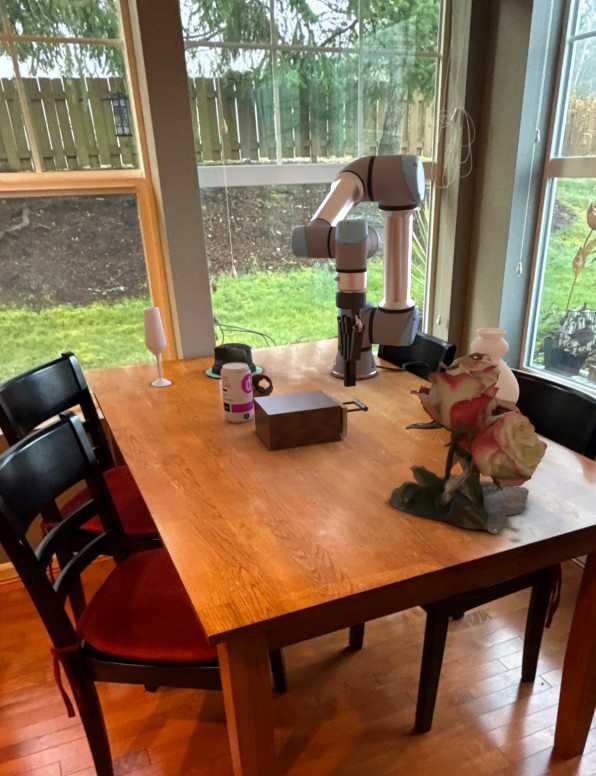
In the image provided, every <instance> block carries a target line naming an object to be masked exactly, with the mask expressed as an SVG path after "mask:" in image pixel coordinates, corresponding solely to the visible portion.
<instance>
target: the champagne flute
mask: <svg viewBox="0 0 596 776" xmlns="http://www.w3.org/2000/svg"><path fill="white" fill-rule="evenodd" d="M143 328H144V345H145V347H146V349H147V350H148V351H150V352H151V354H154V355H155V359H156V360H155V361H156V367H157V374H158V378H157V379H156V380H155V381H153V382H151V384H150V385H151V386H152V387H168V386H170V385H172V381H170V380H169V379H166V378H164V377H163V372H162V371H163V370H162V365H161V357H160V355H161V354H162V353H163V351H164V350H165V349H166V347H167V338H166V334H165V330H164V326H163V321H162V317H161V312H160V307H156V306H148V307H144V308H143Z"/></svg>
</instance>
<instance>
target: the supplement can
mask: <svg viewBox="0 0 596 776" xmlns="http://www.w3.org/2000/svg"><path fill="white" fill-rule="evenodd" d="M220 381H221V391H222V402H223V413H224V419H226V421H227V422H230V423H234V424H235V423H236V424H238V423H247V422H249V421H251V420H252V419H253V418H254V417H255V415H254V401H253V395H254V394H253V393H252V380H251V370H250V369H249V367H248V364H246V363H228V364H225V365H223V366H222V370H221V378H220Z"/></svg>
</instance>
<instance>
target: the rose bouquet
mask: <svg viewBox="0 0 596 776" xmlns="http://www.w3.org/2000/svg"><path fill="white" fill-rule="evenodd" d="M475 357H477V358H475ZM438 365H439V367H440V368H441V369H442V368H443V369H445V371H444V372H442V371H435V372H430V373H429V374H428V376H427V377H428V378H427V379H428V381H430V383H431V385H430V386H429V387H427V386H424V385H420V386H419V390H418V391H417V390H416V389H413V390H412V389H410V391H409V393H410V394H409V395H415V396H417V398H418V399H419V400H420V404H421V405H422V409H423V411H424V412H425V413H426V414H427V415H428V416H429V418H430V419H431V420H432V421H429V422H415V423H412V424H409V425H407V426H406V427H404V429H405V430H412V429H413V430H425V431H426V430H427V431H429V430H438V429H445V431H447V432H450V435H449V439H450V440H449V441H450V442H447V443H444V448H448V451H447V455H446V459H445V468H444V476H443V477H439V476H437V475H438V474H437V473H436V472H433V471H431V470H429V469H427V468H426V467H425V466H423V465H418V464H413V465H411V466H410V467H409V469H410V470H411V472H412V478H413V479H414V480H415V482H413V481H411V480H407V481H404V482H403V483H402V484H401V485H400V486H399V487H395V488H394V489H392V490H391V495H390V498H389V500H388V503H389V504H390V505H392V507H393V508H395V509H398V510H399V511H403V512H405V513H409V514H411V515H414V516H417V517H422V518H426V519H431V520H434V521H444V522H447V523H450V524H453V525H455V526H458V527H461V528H465V529H469V530H475V531H477V530H485V531H487V532H488V533H491V534H494V535H495V534H498V533H500V530H501V529H502V528H504V527H505V528H508V529H511V530H515V531H516V529H514V528H512V527H510V526H509V523H508V521H507V516H511V515H517V514H521V513H522V512H523V510H524V508H526V505H527V502H528V496H529V493H530V490H529V489H528V488H526V487H524V486H523V485H524V484H525V482H528V481H529V480H531V479H532V476H533V475H534V473H535V472H536V470H537V468H538V466H539V464H540V463H541V462H542V459H543V458H544V457H545V454H546V450H547V449H548V444H547V443H546V442H545V441H542V440H541V439H539V436H538V435H539V434H538V433H536V432H535V430H536V428H535V426H534V425H533V424H532V423H531V422H530V420H529V417H527V416H526V415H523V413H522V412H521V411H520V409H519V407H518V406H516V404H515V402H512V401H508V400H504V399H500V398H498V397H497V396H496V394H497V391H498V390H499V388H498V387H494V386H495V385H496V383H497V381H498V376H499V374H500V369H499V368H496V367H498V366H499V365H498V364H495V363H493V361H492V360H491V356H489V355H488V354H484V353H483V354H482V353H480V352H475V353H473V352H472V353H470V354H467V355H465V356H460V357H458V358H456V359H454V360H453V361H452V363H451V364H450V365H446V364H444V361H441V362H438ZM458 463H459V465H460V467H461V469H462V472H461V474H460V475H459V476H453V475H452V473H451V472H452V469H453V468H454V467H455V466H456V465H457V464H458ZM481 476H483V477H487V478H488V477H490V478H491V480H492V482H489V481H481ZM484 480H485V479H484ZM521 486H523V487H521Z"/></svg>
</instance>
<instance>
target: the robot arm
mask: <svg viewBox="0 0 596 776" xmlns="http://www.w3.org/2000/svg"><path fill="white" fill-rule="evenodd" d="M425 188H426V180H425V171H424V165H423V162H422V160H421V158H420V157H419V156H418V155H416V154H415V155H414V154H386V155H366V156H362V157H359V158H357V159H355V160H353V161H351V162H350V163H348V164H347V165H346V166H344V167H342V169H341V170H340V171H339V172H338V173H337V174H336V175H335V177H334V178H333V180H332V182H331V186H330V191H329V193H328V194H327V195H326V197H325V199H324V200H323V202H322V203H321V205H320V206H319V208H318V209H317V210H316V212H315V213H314V215H313V217H312V218H311V220H310V221H309V222H308V224H307V225H304V224H301V225H296V226H293V228H292V230H291V233H290V239H289V240H290V241H289V242H290V250H291V252H292V255H293V256H294V257H296V258H301V259H307V260H308V259H321V260H322V259H324V260H325V259H328V260H329V259H331V260H335V276H334V277H333V280H334V281H335V289H336V290H337V291H335V307H336V308H337V309H338V311H337V316H336V322H337V352H336V355H335V359H333V361H332V364H333V365H332V375H333V377H336V378H339V379H343V386H344V387H345V388H351V387H356V386H357V380H364V379H370V378H373V377H375V376H376V375H377V374H378V373H377V372H378V371H377V369H383V370H387V371H394V372H395V371H396V372H403V371H405V370H406V367H407V366H413V365H423V366H425V367H426V368H430V365H428V364H427V363H426V364H422V362H423V361H418V360H417V361H411V362H410V361H409V362H407V363H403V364H402V365H401V368H395V367H388V366H383V365H377V364H376V359H375V356H374V353H373V345H380V346H393V347H395V346H396V347H409V346H411V345H412V344H413V343H414V341H415V338H416V335H417V331H418V328H419V322H420V309H419V308H415V301H414V300H413V299H412V297H411V280H412V279H411V276H412V273H411V272H412V247H413V245H412V244H413V216H414V213H415V212H416V211H417V210H418V209H419V203H421V202H423V201H424V199H425ZM368 202H369V203H370V202H371V203H377V210H378V211H379V212H380V213H381V215H382V216H383V217H382V221H383V224H382V225H383V226H382V234H383V235H382V241H381V235H380V233H379V231H378V230H377V229H376V228H375V227H373V226H372V225H368V221H367V220H366V219H360V218H359V219H358V218H357V219H356V218H352V219H351V218H349V219H348V216H349V215H350V214H351V212H352V210H353V208H355V207H357V206H359V204H361V203H368ZM381 242H382V297H381V299H380V300H379V301H378V302H377V307H376V306H375V305H374V302H373V301H370V300H369V301H367V292H366V289H367V286H368V283H367V282H368V259H372V257H374V256H375V255H376V254H377V253H378V251H379V250H380V247H381Z"/></svg>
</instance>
